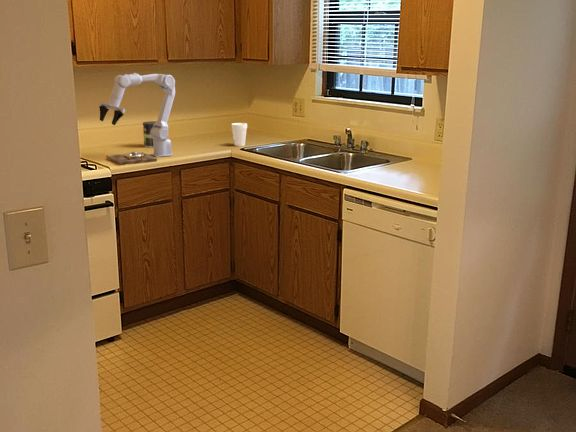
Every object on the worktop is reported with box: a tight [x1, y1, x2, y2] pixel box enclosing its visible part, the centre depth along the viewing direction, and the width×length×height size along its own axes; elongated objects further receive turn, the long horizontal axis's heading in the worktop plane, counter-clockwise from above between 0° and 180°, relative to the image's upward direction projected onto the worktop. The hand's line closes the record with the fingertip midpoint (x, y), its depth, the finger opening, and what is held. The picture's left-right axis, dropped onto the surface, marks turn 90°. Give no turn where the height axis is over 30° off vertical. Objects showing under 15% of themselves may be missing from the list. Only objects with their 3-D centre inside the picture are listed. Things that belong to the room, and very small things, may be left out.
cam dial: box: [124, 151, 144, 159], centre depth 327 cm, size 14×10×3 cm
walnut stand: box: [106, 152, 158, 166], centre depth 327 cm, size 20×20×4 cm
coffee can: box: [142, 120, 156, 149], centre depth 367 cm, size 10×10×14 cm
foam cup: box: [231, 122, 248, 147], centre depth 373 cm, size 10×9×13 cm
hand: (107, 122), depth 316 cm, fingers open, 7 cm apart
